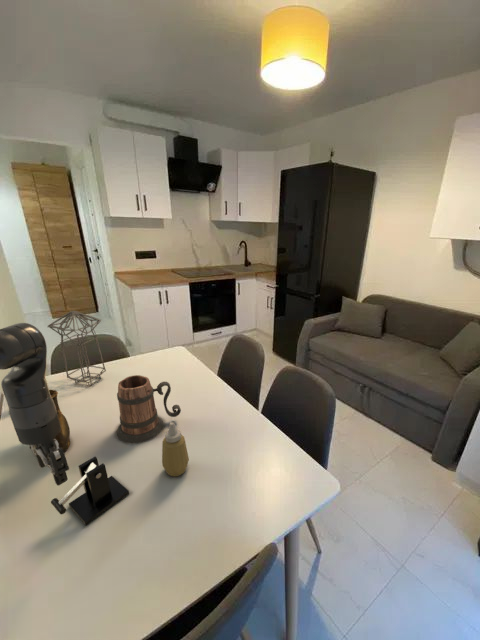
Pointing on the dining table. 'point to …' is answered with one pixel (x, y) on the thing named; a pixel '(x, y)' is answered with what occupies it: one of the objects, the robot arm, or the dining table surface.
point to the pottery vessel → (65, 431)
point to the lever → (71, 491)
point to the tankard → (140, 409)
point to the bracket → (97, 492)
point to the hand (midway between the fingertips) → (53, 473)
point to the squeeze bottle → (174, 452)
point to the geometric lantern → (82, 316)
